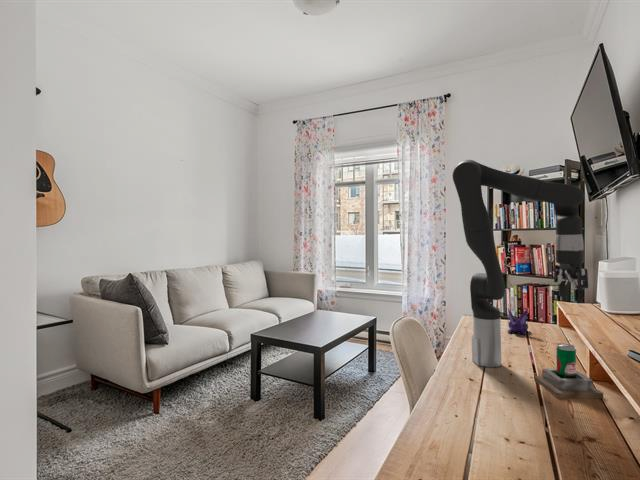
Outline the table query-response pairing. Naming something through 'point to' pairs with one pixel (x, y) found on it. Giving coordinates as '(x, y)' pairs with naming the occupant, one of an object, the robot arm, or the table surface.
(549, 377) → the grey hollow square frame
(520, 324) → the creature
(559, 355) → the soda can
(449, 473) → the table surface
